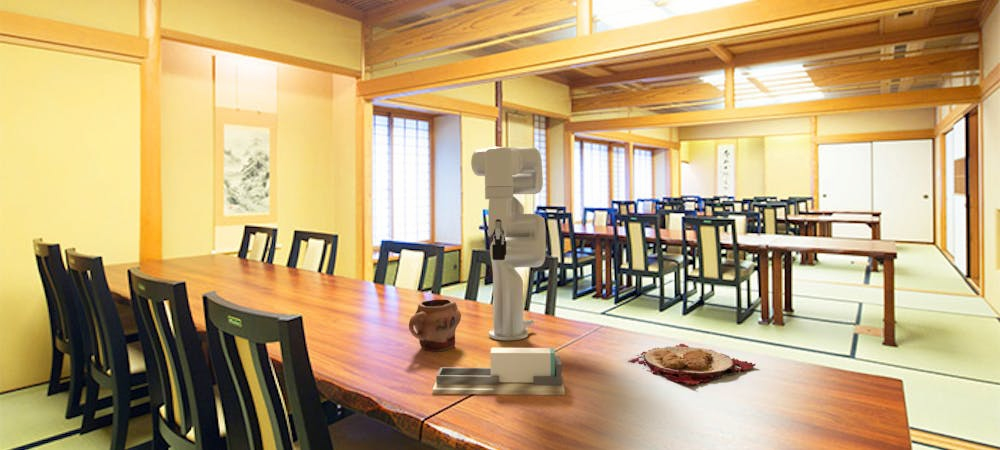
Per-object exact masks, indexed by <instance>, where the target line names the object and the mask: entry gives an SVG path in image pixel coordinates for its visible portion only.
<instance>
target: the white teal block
mask: <svg viewBox="0 0 1000 450" xmlns="http://www.w3.org/2000/svg"><path fill="white" fill-rule="evenodd" d="M489 353H490V368H491V376H499V382H526V383H533V376H555V356H556V351H555V347H491V348H490V352H489Z"/></svg>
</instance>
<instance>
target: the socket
mask: <svg viewBox="0 0 1000 450" xmlns="http://www.w3.org/2000/svg"><path fill="white" fill-rule="evenodd" d="M562 366H563V365H562V359H561V356H560V355H555V376H533V385H538V386H562V379H563V375H562V370H563V369H562Z"/></svg>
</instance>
